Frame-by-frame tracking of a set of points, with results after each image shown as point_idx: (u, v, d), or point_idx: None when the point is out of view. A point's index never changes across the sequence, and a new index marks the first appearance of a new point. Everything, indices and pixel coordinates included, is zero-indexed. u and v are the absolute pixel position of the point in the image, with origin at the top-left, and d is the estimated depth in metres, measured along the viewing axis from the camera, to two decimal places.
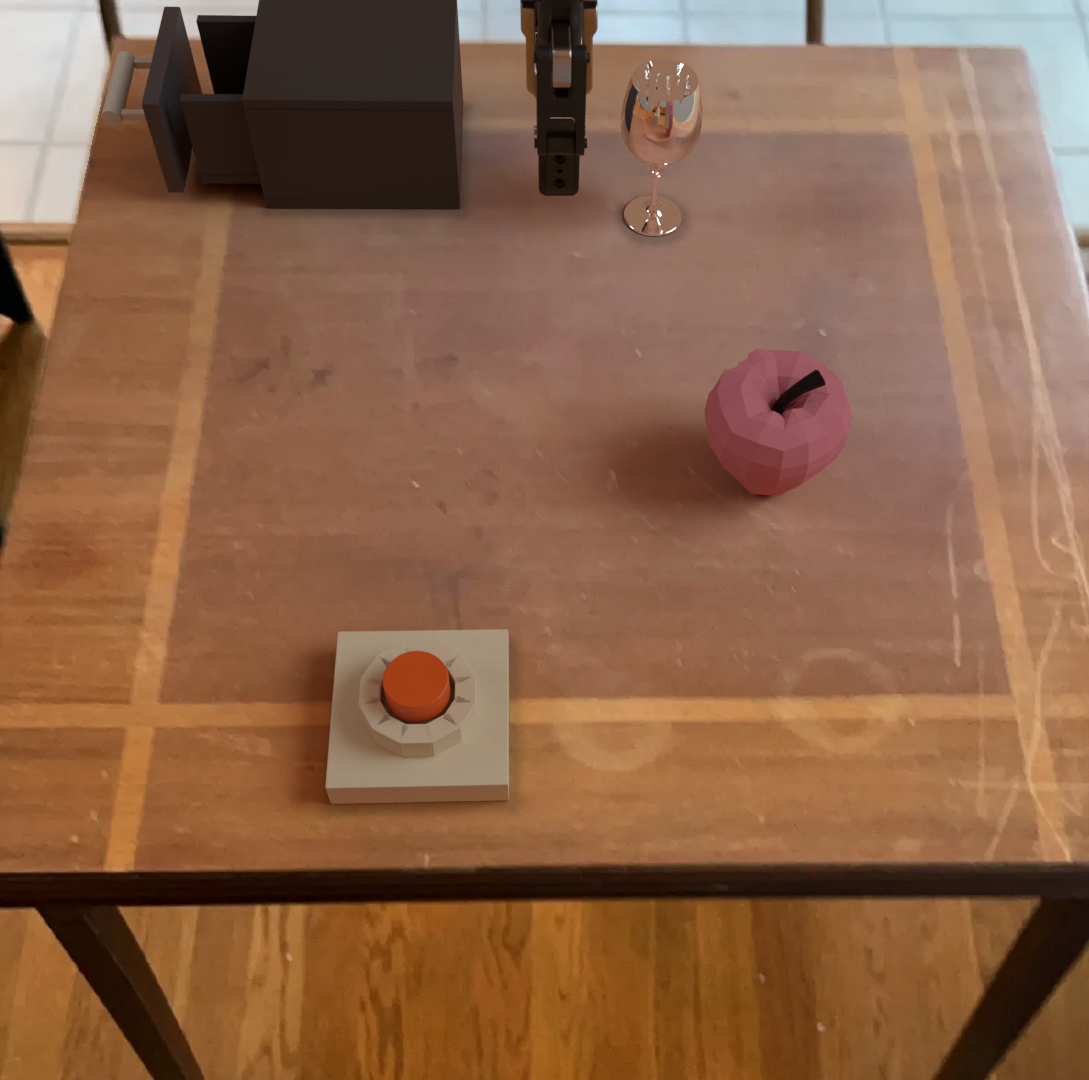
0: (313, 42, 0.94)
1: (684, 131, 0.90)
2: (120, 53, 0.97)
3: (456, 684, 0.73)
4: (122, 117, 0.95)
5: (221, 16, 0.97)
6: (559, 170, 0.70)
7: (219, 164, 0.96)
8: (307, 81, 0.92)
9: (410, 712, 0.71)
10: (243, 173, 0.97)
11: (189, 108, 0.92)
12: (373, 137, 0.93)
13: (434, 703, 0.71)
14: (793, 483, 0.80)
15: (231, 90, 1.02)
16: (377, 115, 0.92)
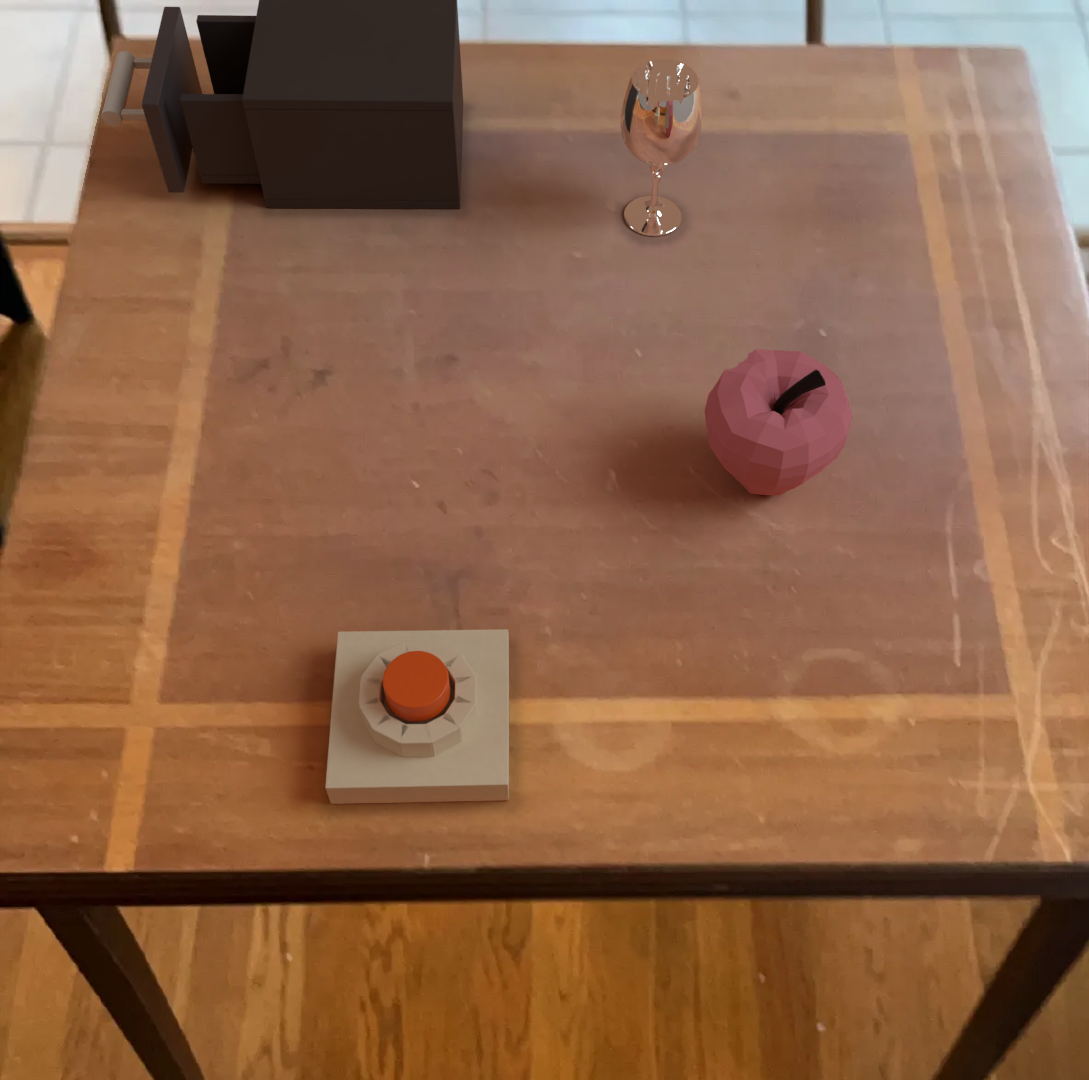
0: (313, 42, 0.94)
1: (684, 131, 0.90)
2: (120, 53, 0.97)
3: (456, 684, 0.73)
4: (122, 117, 0.95)
5: (221, 16, 0.97)
6: None
7: (219, 164, 0.96)
8: (307, 81, 0.92)
9: (410, 712, 0.71)
10: (243, 173, 0.97)
11: (189, 108, 0.92)
12: (373, 137, 0.93)
13: (434, 703, 0.71)
14: (793, 483, 0.80)
15: (231, 90, 1.02)
16: (377, 115, 0.92)
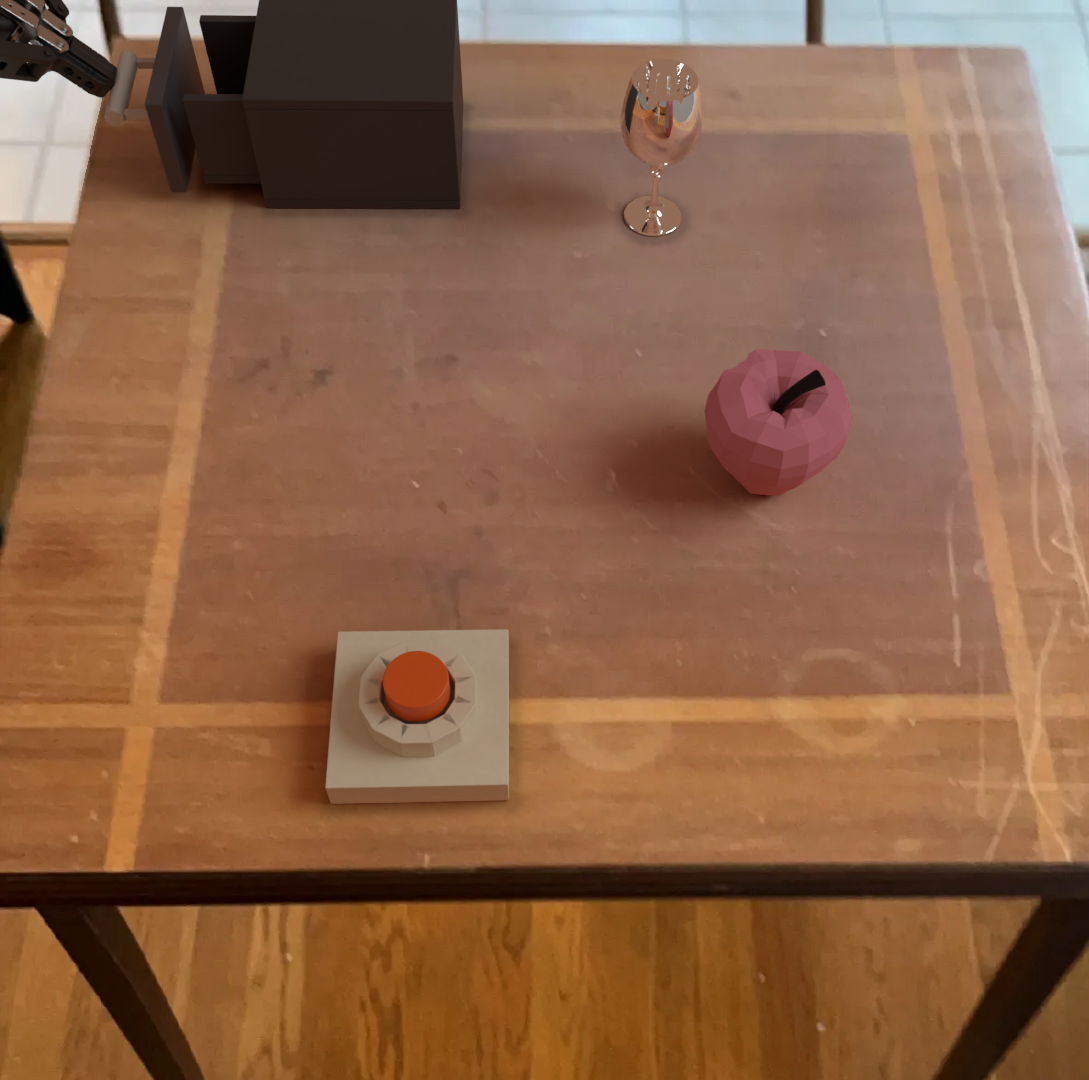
0: (313, 42, 0.94)
1: (684, 131, 0.90)
2: (123, 53, 0.97)
3: (456, 684, 0.73)
4: (125, 117, 0.95)
5: (224, 16, 0.97)
6: None
7: (222, 164, 0.96)
8: (307, 81, 0.92)
9: (410, 712, 0.71)
10: (246, 173, 0.97)
11: (192, 108, 0.92)
12: (373, 137, 0.93)
13: (434, 703, 0.71)
14: (793, 483, 0.80)
15: (234, 90, 1.02)
16: (377, 115, 0.92)
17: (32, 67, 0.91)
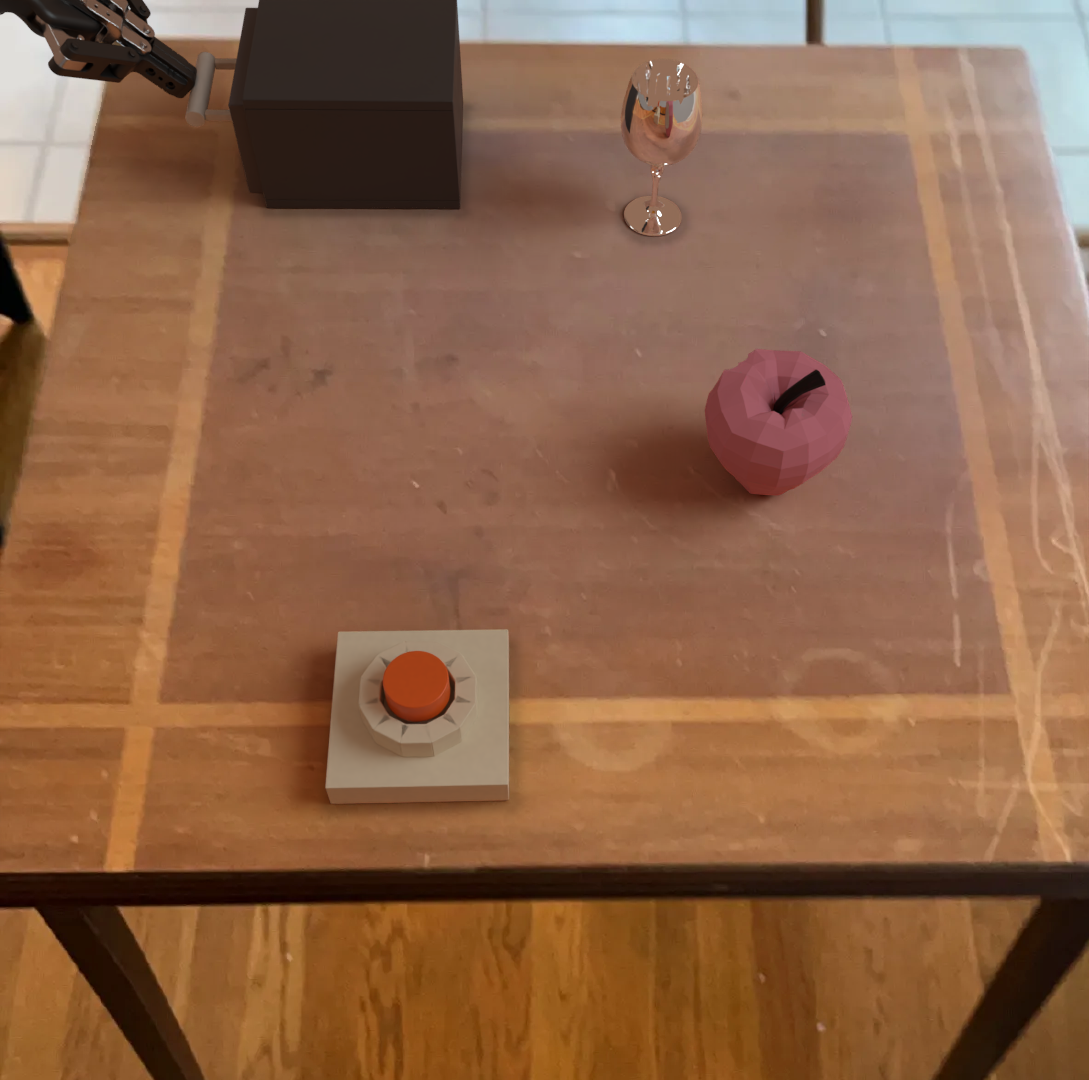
0: (313, 42, 0.94)
1: (684, 131, 0.90)
2: (201, 54, 0.98)
3: (456, 684, 0.73)
4: (205, 118, 0.95)
5: None
6: None
7: None
8: (307, 81, 0.92)
9: (410, 712, 0.71)
10: None
11: None
12: (373, 137, 0.93)
13: (434, 703, 0.71)
14: (793, 483, 0.80)
15: None
16: (377, 115, 0.92)
17: (116, 68, 0.91)
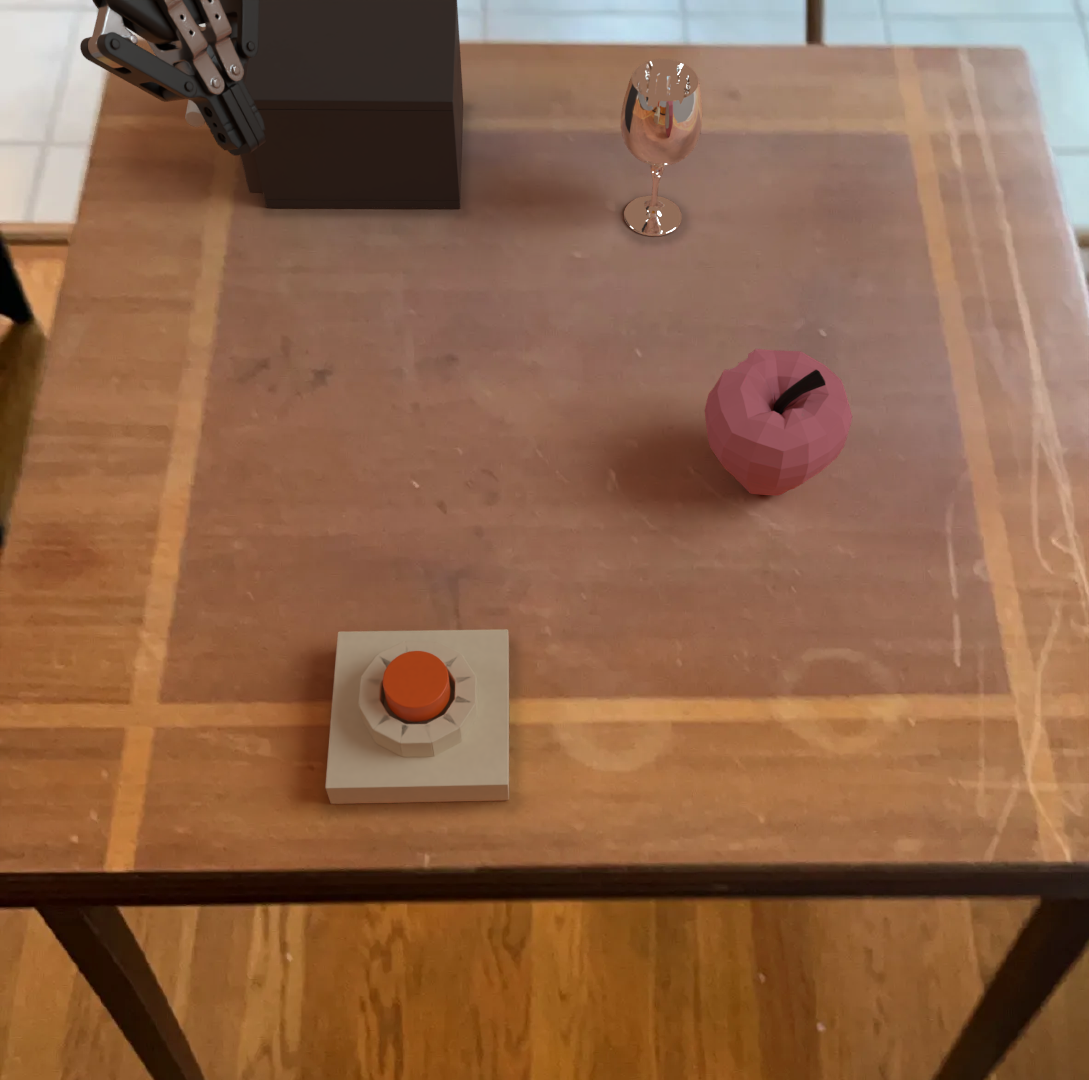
0: (313, 42, 0.94)
1: (684, 131, 0.90)
2: None
3: (456, 684, 0.73)
4: None
5: None
6: None
7: None
8: (307, 81, 0.92)
9: (410, 712, 0.71)
10: None
11: None
12: (373, 137, 0.93)
13: (434, 703, 0.71)
14: (793, 483, 0.80)
15: None
16: (377, 115, 0.92)
17: (165, 88, 0.74)
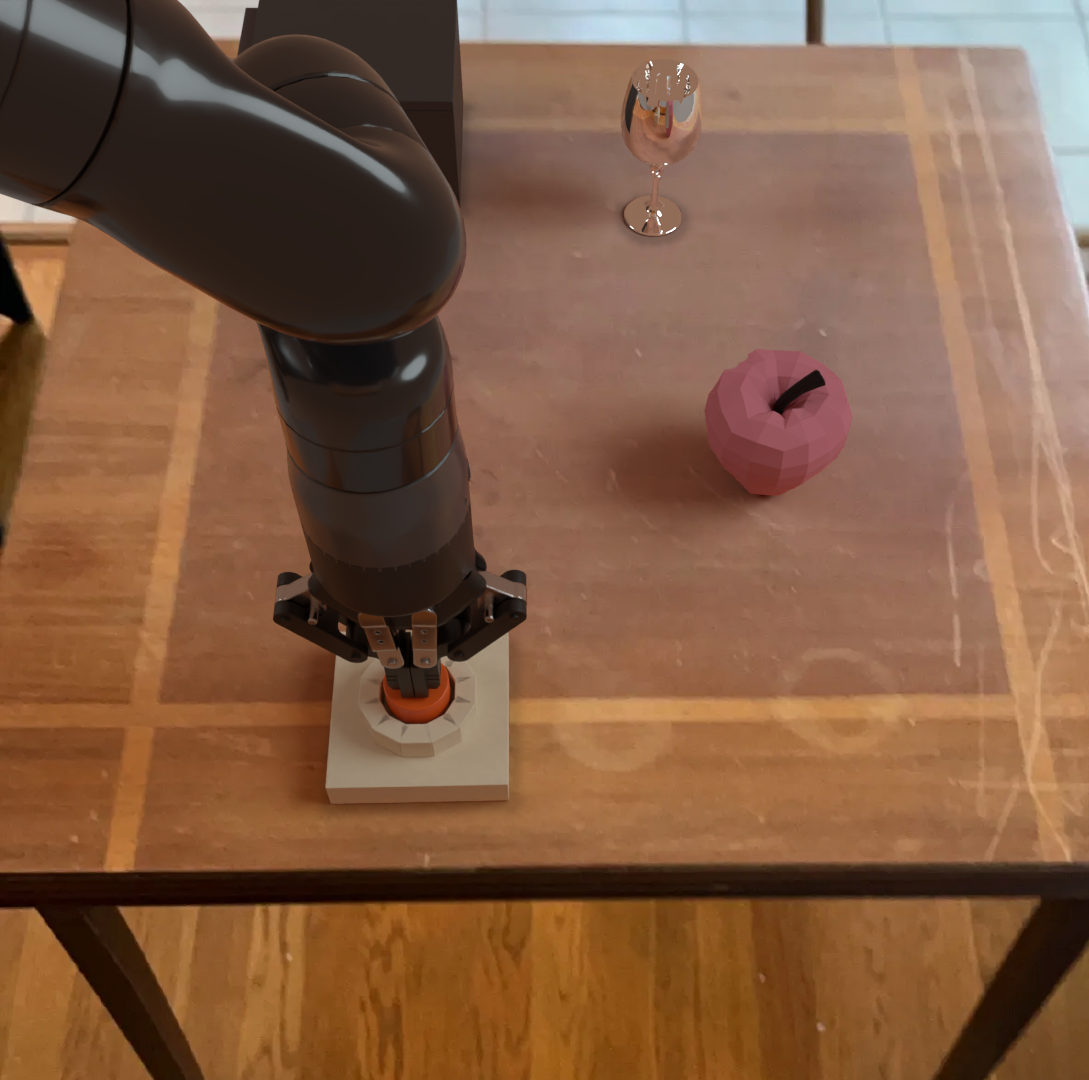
0: None
1: (684, 131, 0.90)
2: None
3: (456, 684, 0.73)
4: None
5: None
6: None
7: None
8: None
9: (410, 714, 0.71)
10: None
11: None
12: None
13: (434, 706, 0.71)
14: (793, 483, 0.80)
15: None
16: None
17: (346, 631, 0.67)
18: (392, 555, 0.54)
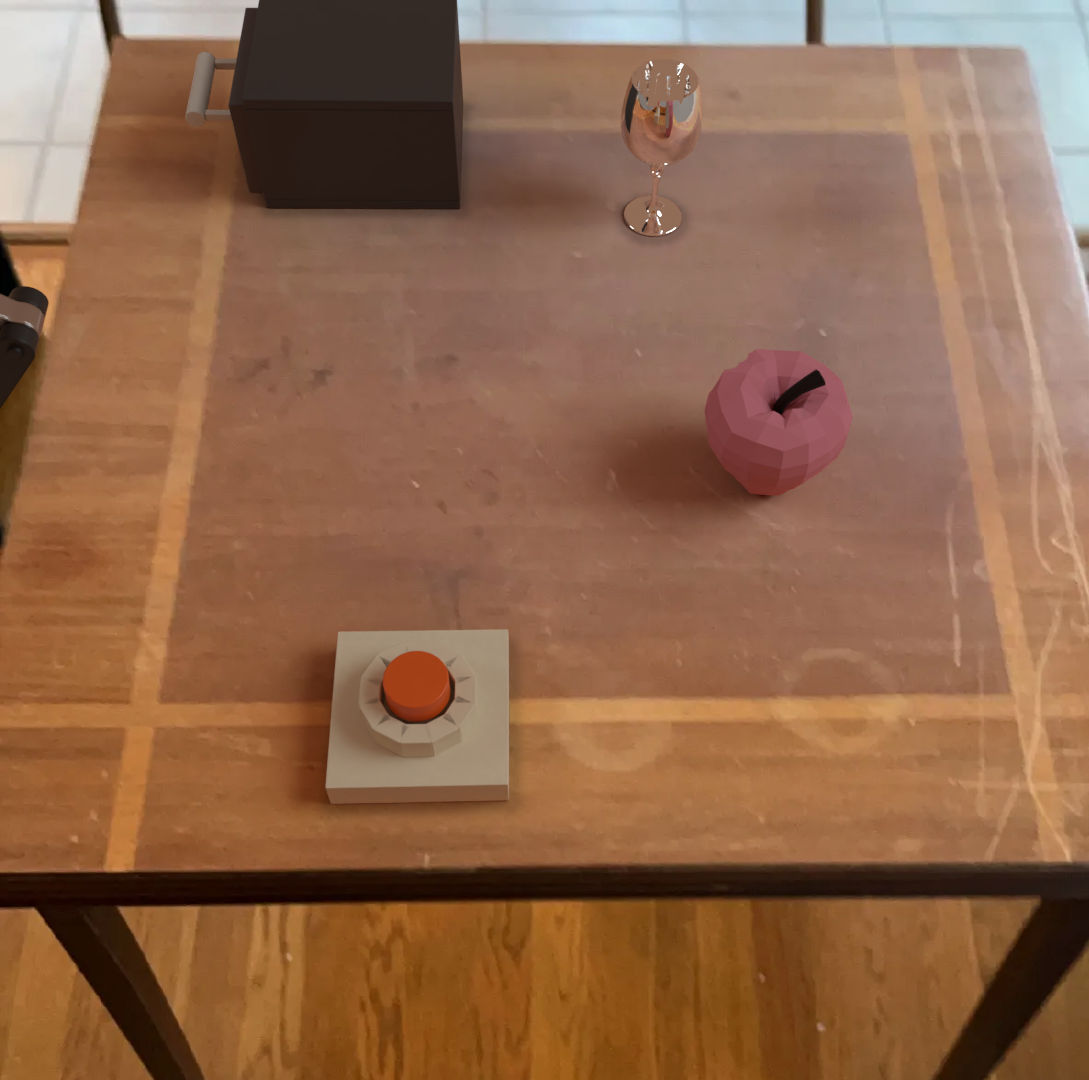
0: (313, 42, 0.94)
1: (684, 131, 0.90)
2: (201, 54, 0.98)
3: (456, 684, 0.73)
4: (205, 118, 0.95)
5: None
6: None
7: None
8: (307, 81, 0.92)
9: (410, 712, 0.71)
10: None
11: None
12: (373, 137, 0.93)
13: (434, 703, 0.71)
14: (793, 483, 0.80)
15: None
16: (377, 115, 0.92)
17: None
18: None
